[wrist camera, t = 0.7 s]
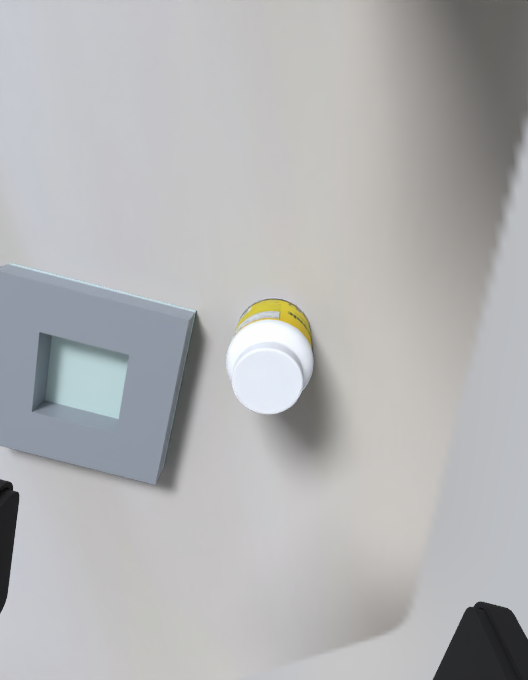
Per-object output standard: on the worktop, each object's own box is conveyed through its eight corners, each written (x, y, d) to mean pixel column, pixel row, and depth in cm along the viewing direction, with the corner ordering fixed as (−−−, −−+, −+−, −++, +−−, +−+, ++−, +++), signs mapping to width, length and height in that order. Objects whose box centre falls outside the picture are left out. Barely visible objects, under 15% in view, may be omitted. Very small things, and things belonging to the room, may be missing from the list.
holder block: (12, 263, 35) (-9, 269, 33) (196, 310, 35) (189, 319, 33) (0, 425, 40) (-19, 441, 37) (163, 466, 40) (155, 484, 37)
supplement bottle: (318, 355, 36) (325, 416, 26) (249, 371, 37) (233, 436, 27) (301, 286, 34) (302, 326, 25) (229, 305, 35) (204, 350, 26)
